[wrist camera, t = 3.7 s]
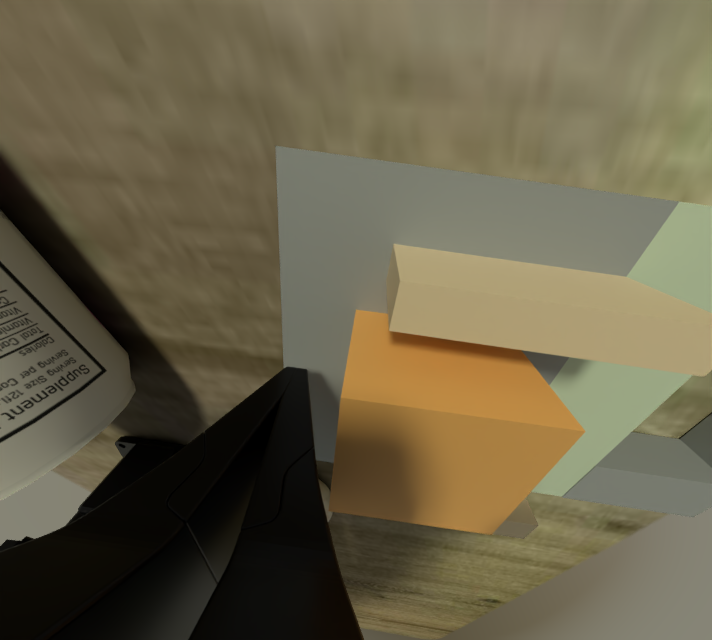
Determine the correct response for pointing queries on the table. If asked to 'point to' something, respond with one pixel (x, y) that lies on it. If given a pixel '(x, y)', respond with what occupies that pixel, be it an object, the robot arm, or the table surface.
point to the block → (442, 429)
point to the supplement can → (50, 367)
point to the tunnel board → (511, 304)
